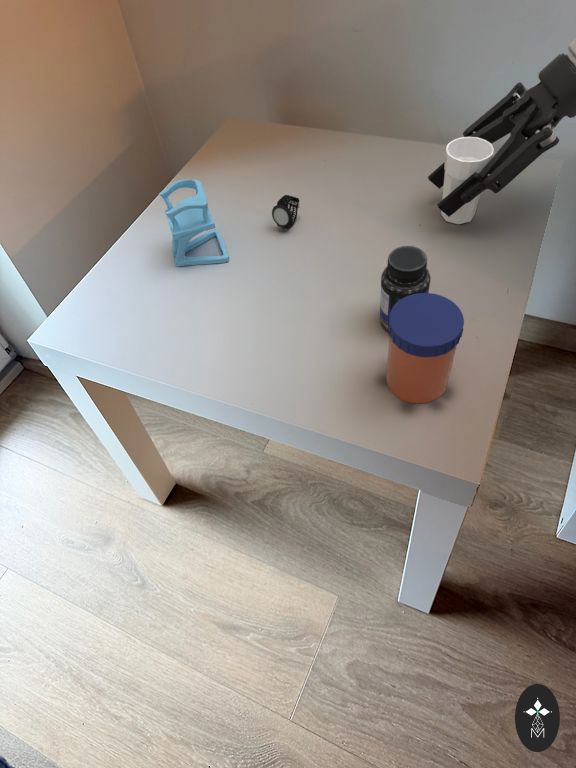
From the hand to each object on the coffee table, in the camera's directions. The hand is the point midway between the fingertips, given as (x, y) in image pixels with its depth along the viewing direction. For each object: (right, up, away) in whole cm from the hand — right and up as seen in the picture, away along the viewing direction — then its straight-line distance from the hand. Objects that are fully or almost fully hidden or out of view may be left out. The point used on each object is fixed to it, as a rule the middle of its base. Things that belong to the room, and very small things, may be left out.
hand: (438, 196), depth 83 cm
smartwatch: (-23, -3, +5) cm, 24 cm away
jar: (-7, -28, -15) cm, 33 cm away
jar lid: (-8, -22, -24) cm, 34 cm away
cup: (+4, -2, +3) cm, 5 cm away
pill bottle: (-8, -20, -9) cm, 24 cm away
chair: (-38, -8, +3) cm, 39 cm away
